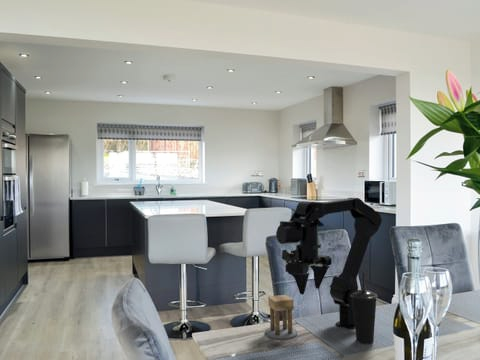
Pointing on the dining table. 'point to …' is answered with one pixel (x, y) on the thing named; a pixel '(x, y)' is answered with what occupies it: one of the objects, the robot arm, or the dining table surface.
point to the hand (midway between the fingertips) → (309, 291)
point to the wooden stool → (284, 305)
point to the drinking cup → (364, 313)
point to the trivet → (281, 333)
